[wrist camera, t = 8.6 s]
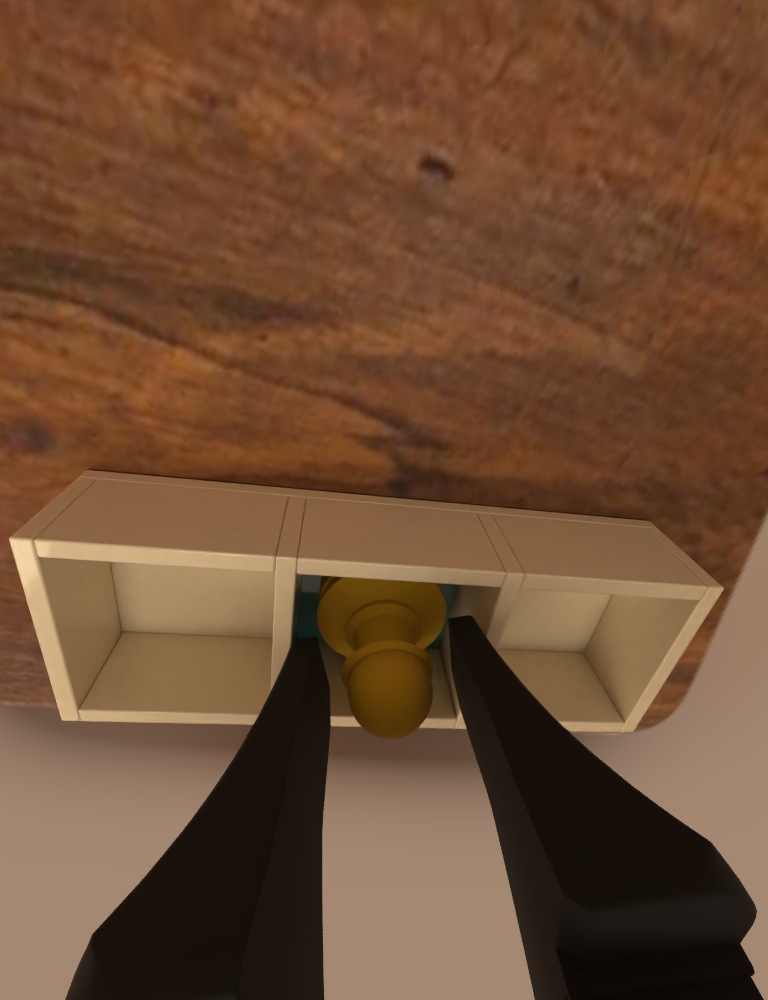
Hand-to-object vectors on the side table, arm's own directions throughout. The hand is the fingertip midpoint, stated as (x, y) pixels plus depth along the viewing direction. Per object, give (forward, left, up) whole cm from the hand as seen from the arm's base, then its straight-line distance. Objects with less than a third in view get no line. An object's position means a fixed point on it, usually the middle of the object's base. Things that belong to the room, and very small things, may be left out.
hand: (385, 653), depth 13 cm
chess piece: (0, 0, -3) cm, 3 cm away
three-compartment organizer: (0, 0, -3) cm, 3 cm away
